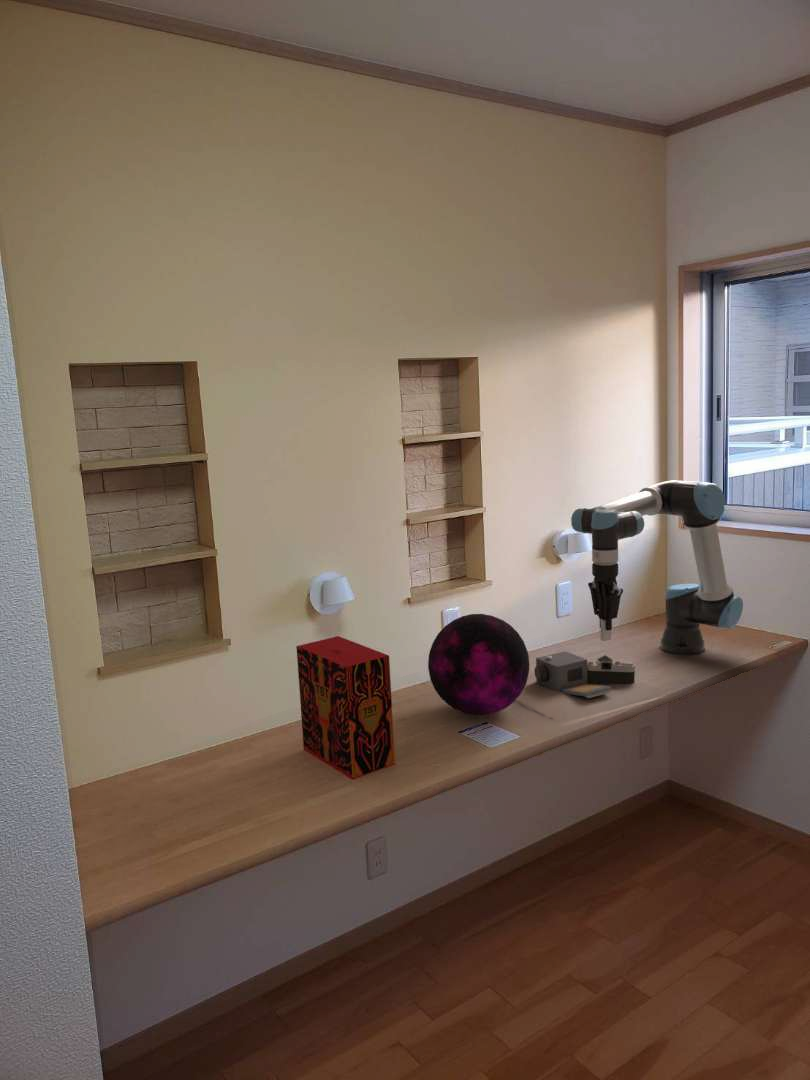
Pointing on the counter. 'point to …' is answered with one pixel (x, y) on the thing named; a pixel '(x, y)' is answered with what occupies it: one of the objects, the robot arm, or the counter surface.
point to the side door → (587, 690)
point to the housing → (561, 670)
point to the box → (346, 705)
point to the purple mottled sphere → (478, 664)
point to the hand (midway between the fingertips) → (605, 639)
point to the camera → (610, 672)
